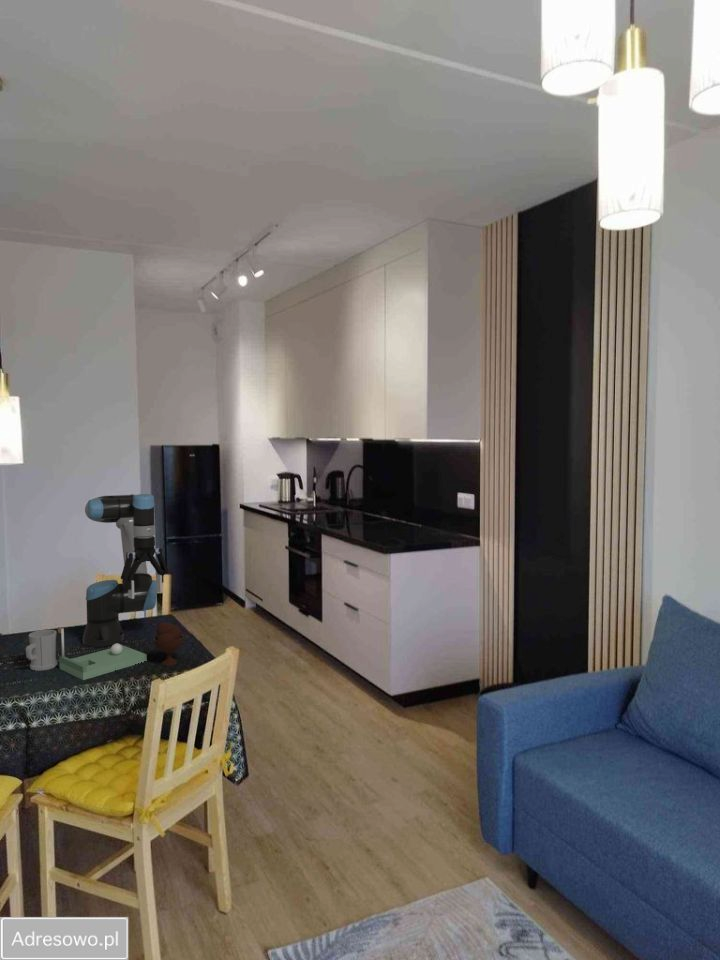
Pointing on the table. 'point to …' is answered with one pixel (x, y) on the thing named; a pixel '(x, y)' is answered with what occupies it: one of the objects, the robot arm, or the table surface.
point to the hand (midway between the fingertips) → (145, 594)
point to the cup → (42, 650)
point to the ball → (116, 649)
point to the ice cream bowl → (168, 641)
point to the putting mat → (99, 661)
